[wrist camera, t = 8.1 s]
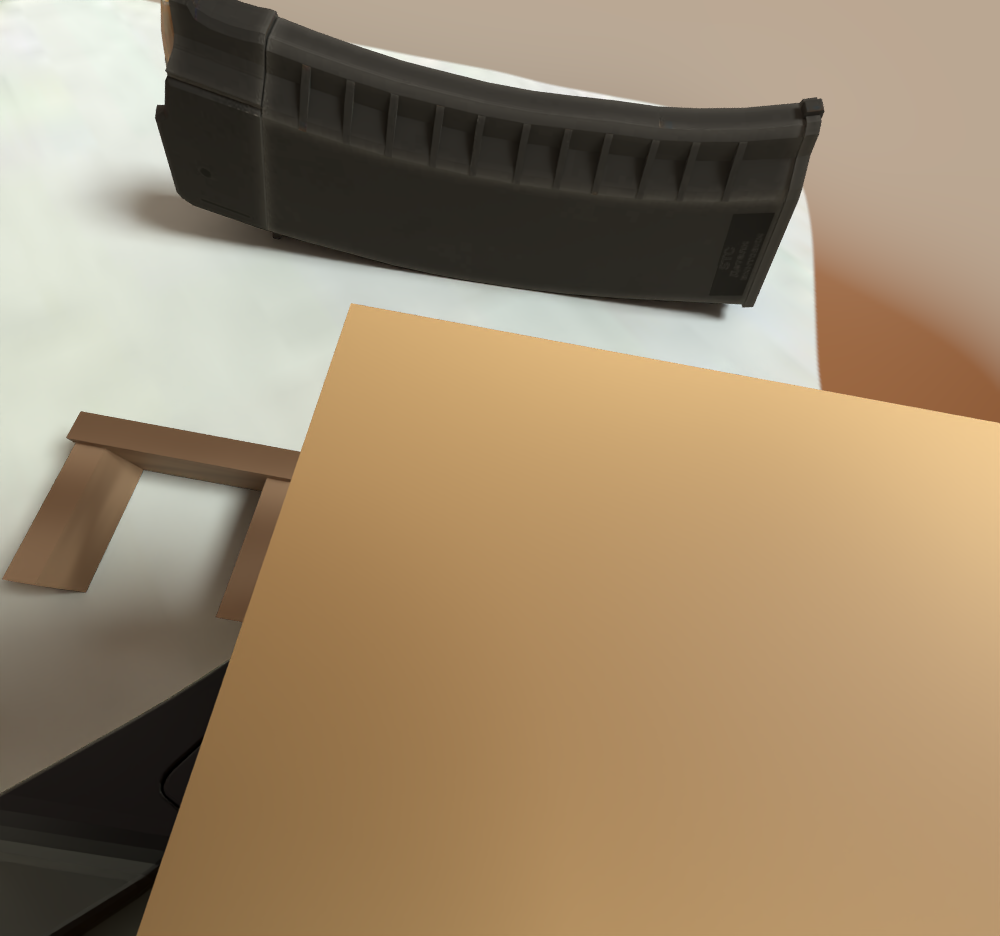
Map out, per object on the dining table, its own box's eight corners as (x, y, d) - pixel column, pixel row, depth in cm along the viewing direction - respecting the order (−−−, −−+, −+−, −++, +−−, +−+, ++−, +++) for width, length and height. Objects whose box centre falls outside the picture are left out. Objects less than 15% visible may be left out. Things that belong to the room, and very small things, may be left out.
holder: (273, 625, 20) (242, 622, 17) (56, 587, 19) (-11, 577, 17) (321, 476, 22) (301, 452, 19) (129, 441, 22) (80, 411, 19)
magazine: (906, 137, 20) (61, -434, 11) (922, 192, 19) (-9, -396, 10) (648, 346, 35) (201, 179, 26) (648, 384, 34) (180, 222, 25)
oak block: (568, 770, 14) (1369, 1684, 2) (399, 742, 14) (-56, 1495, 2) (584, 596, 16) (1024, 427, 3) (434, 570, 15) (351, 302, 3)
